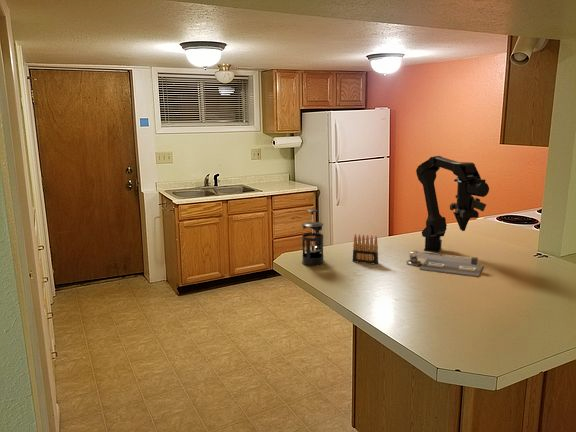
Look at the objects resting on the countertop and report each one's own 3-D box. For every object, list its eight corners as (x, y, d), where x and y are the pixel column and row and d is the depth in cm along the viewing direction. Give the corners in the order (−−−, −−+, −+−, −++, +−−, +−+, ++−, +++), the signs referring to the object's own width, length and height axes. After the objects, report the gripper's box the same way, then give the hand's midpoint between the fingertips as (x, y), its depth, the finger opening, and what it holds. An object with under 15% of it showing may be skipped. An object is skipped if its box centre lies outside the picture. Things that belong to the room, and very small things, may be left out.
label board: (419, 269, 188) (419, 267, 187) (427, 260, 200) (427, 258, 199) (478, 277, 177) (478, 275, 177) (482, 266, 190) (482, 264, 189)
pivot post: (404, 264, 194) (404, 258, 194) (408, 260, 199) (408, 254, 199) (419, 266, 191) (419, 260, 191) (422, 262, 197) (422, 256, 196)
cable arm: (408, 257, 194) (408, 252, 194) (410, 255, 197) (410, 250, 197) (476, 265, 182) (476, 259, 182) (477, 262, 185) (477, 257, 185)
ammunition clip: (352, 261, 200) (352, 234, 198) (353, 260, 202) (353, 233, 200) (377, 264, 196) (377, 236, 193) (378, 262, 198) (378, 235, 195)
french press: (317, 267, 193) (317, 213, 188) (297, 264, 198) (296, 211, 193) (329, 259, 203) (328, 207, 198) (309, 257, 208) (308, 206, 203)
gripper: (493, 196, 183) (490, 235, 186) (476, 189, 201) (474, 225, 204) (464, 197, 183) (462, 236, 186) (450, 190, 201) (448, 225, 205)
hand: (462, 230), depth 195 cm, fingers closed
